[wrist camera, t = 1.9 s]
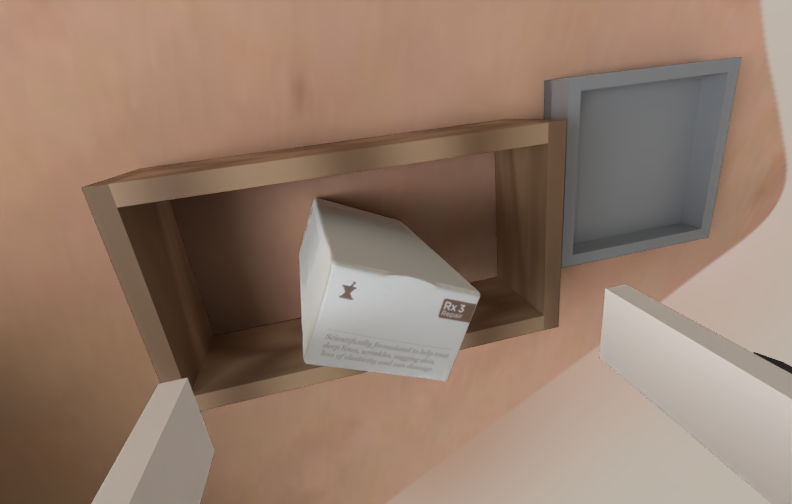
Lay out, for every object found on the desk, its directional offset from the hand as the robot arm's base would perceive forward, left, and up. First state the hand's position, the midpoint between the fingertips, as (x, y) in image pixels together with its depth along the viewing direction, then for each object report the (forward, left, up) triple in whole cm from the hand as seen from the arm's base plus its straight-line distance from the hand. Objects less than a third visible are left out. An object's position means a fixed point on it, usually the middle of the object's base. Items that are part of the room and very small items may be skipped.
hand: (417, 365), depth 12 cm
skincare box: (0, 0, -15) cm, 15 cm away
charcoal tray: (+19, +2, -14) cm, 24 cm away
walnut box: (0, 0, -14) cm, 14 cm away
